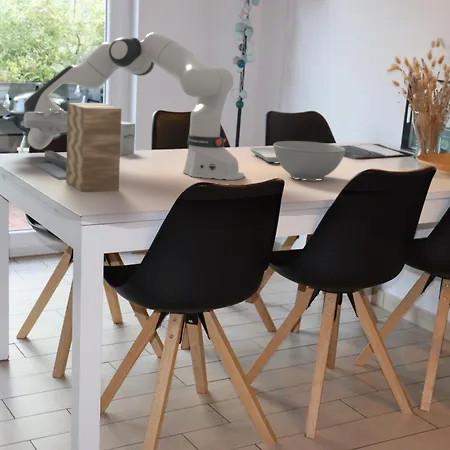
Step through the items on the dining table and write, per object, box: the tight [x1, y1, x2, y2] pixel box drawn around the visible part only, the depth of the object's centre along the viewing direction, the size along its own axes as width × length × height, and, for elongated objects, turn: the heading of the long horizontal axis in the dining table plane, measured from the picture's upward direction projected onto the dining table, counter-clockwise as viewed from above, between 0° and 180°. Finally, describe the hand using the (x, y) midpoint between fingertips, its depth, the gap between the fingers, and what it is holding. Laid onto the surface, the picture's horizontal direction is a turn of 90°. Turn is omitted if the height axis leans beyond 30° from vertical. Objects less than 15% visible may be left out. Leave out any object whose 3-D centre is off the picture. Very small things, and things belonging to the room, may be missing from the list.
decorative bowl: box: [272, 140, 346, 180], centre depth 295 cm, size 27×27×12 cm
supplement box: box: [120, 121, 136, 156], centre depth 325 cm, size 7×7×13 cm
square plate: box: [248, 146, 279, 163], centre depth 337 cm, size 27×27×4 cm
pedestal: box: [65, 102, 122, 193], centre depth 253 cm, size 16×12×26 cm
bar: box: [44, 150, 67, 171], centre depth 284 cm, size 30×3×3 cm, turn 29°
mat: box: [35, 162, 67, 180], centre depth 278 cm, size 26×14×1 cm, turn 29°
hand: (57, 111), depth 282 cm, fingers open, 2 cm apart
